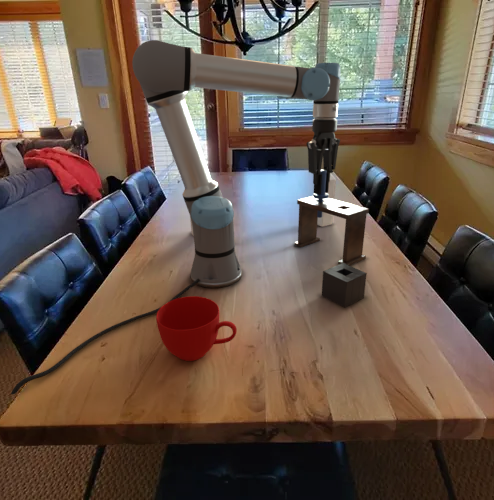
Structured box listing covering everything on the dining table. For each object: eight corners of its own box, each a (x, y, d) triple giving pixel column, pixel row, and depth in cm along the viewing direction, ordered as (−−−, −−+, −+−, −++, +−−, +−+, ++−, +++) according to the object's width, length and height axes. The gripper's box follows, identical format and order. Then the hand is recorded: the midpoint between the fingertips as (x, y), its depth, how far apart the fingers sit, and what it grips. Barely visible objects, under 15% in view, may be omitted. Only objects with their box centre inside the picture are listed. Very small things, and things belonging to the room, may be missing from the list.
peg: (320, 220, 125) (322, 172, 119) (309, 216, 129) (311, 170, 122) (330, 217, 128) (333, 170, 121) (319, 213, 131) (321, 168, 125)
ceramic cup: (227, 380, 73) (224, 338, 69) (149, 365, 77) (143, 324, 73) (246, 340, 84) (245, 302, 80) (178, 329, 89) (173, 292, 85)
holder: (344, 307, 96) (346, 282, 93) (321, 295, 102) (322, 271, 99) (363, 297, 100) (366, 272, 97) (340, 286, 106) (342, 262, 103)
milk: (332, 224, 155) (337, 171, 146) (322, 227, 152) (325, 172, 143) (322, 220, 159) (326, 168, 151) (312, 222, 156) (315, 170, 148)
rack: (345, 267, 118) (350, 215, 111) (294, 244, 135) (295, 199, 128) (365, 258, 123) (371, 209, 116) (313, 238, 140) (315, 194, 134)
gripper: (316, 120, 108) (312, 199, 118) (351, 117, 117) (345, 190, 126) (298, 119, 114) (295, 194, 123) (332, 116, 123) (328, 186, 132)
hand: (320, 192), depth 125 cm, fingers closed on peg, 3 cm apart
